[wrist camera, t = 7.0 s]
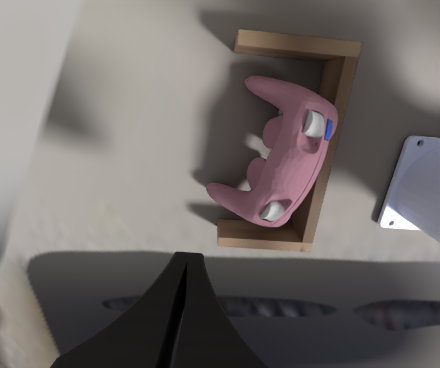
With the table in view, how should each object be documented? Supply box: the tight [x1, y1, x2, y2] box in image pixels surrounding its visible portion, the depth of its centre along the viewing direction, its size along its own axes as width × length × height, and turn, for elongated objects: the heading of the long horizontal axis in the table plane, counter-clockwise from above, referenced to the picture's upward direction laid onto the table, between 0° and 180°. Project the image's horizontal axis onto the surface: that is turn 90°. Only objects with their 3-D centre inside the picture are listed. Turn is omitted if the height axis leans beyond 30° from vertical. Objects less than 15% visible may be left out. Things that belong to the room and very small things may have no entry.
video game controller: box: [206, 76, 338, 227], centre depth 17 cm, size 10×5×7 cm, turn 160°
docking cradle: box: [217, 29, 363, 252], centre depth 18 cm, size 7×15×3 cm, turn 175°
